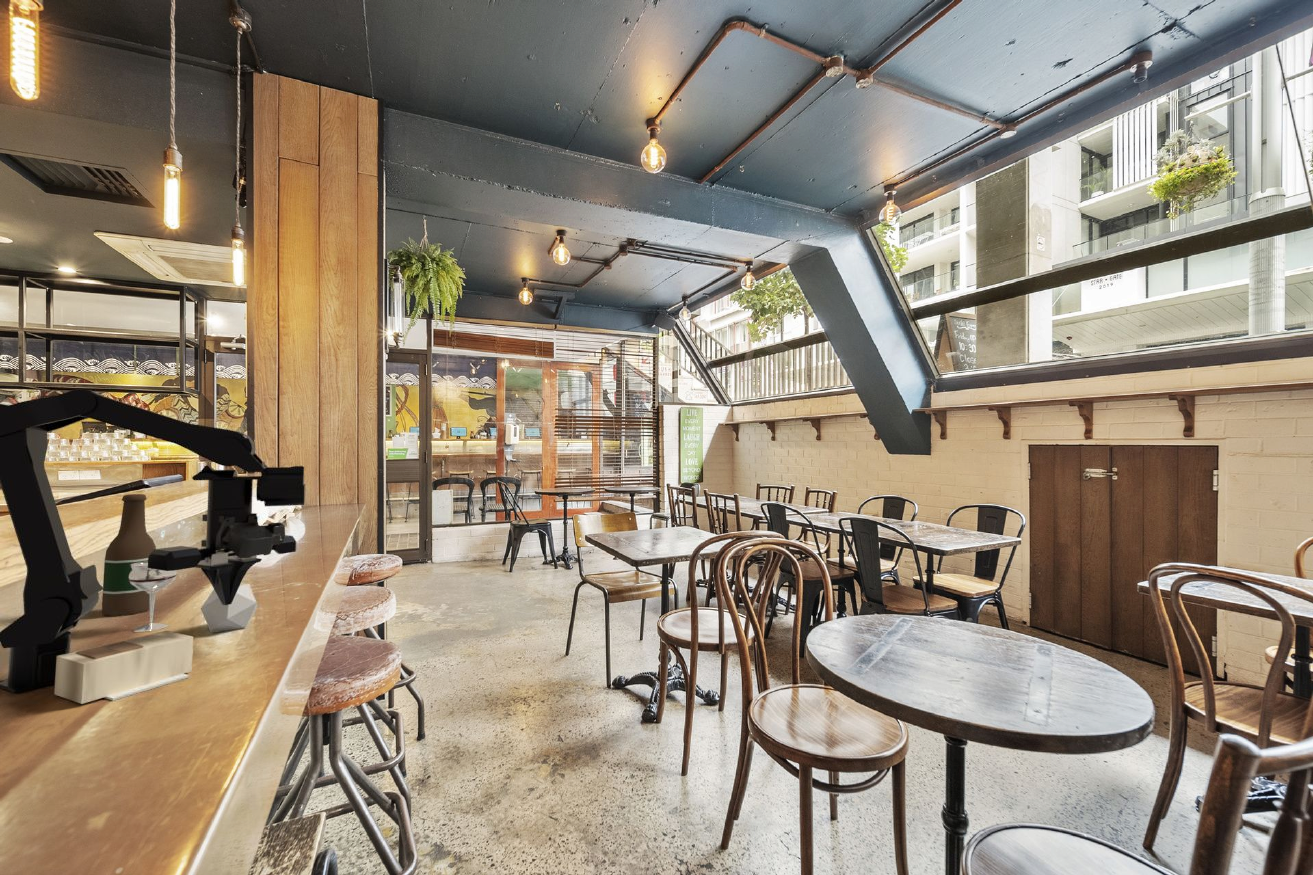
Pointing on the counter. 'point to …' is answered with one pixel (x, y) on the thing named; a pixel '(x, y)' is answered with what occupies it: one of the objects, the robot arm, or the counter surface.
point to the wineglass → (150, 587)
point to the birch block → (122, 666)
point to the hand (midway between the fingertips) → (226, 604)
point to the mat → (146, 687)
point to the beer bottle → (127, 561)
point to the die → (230, 610)
